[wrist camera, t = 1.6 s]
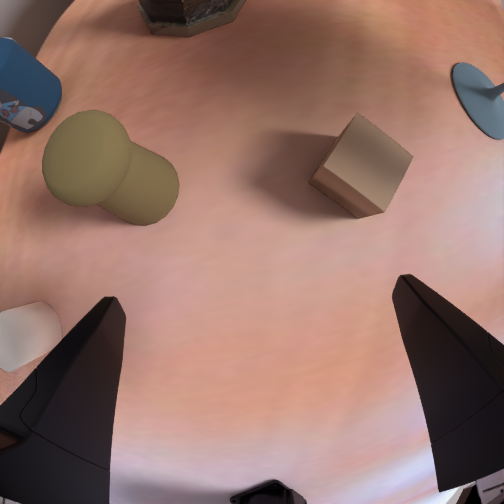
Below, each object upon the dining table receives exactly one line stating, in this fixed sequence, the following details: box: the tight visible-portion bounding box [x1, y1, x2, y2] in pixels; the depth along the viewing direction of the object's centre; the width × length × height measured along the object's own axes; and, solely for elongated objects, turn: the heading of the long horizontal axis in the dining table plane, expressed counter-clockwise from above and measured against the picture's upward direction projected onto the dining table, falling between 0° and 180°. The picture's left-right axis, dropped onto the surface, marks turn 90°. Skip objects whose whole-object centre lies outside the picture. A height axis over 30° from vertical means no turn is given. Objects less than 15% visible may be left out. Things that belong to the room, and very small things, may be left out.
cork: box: [42, 110, 179, 226], centre depth 16 cm, size 6×6×11 cm
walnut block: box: [308, 113, 413, 219], centre depth 19 cm, size 5×5×5 cm
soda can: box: [0, 37, 62, 132], centre depth 15 cm, size 7×7×12 cm
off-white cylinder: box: [0, 301, 62, 372], centre depth 18 cm, size 5×5×7 cm
